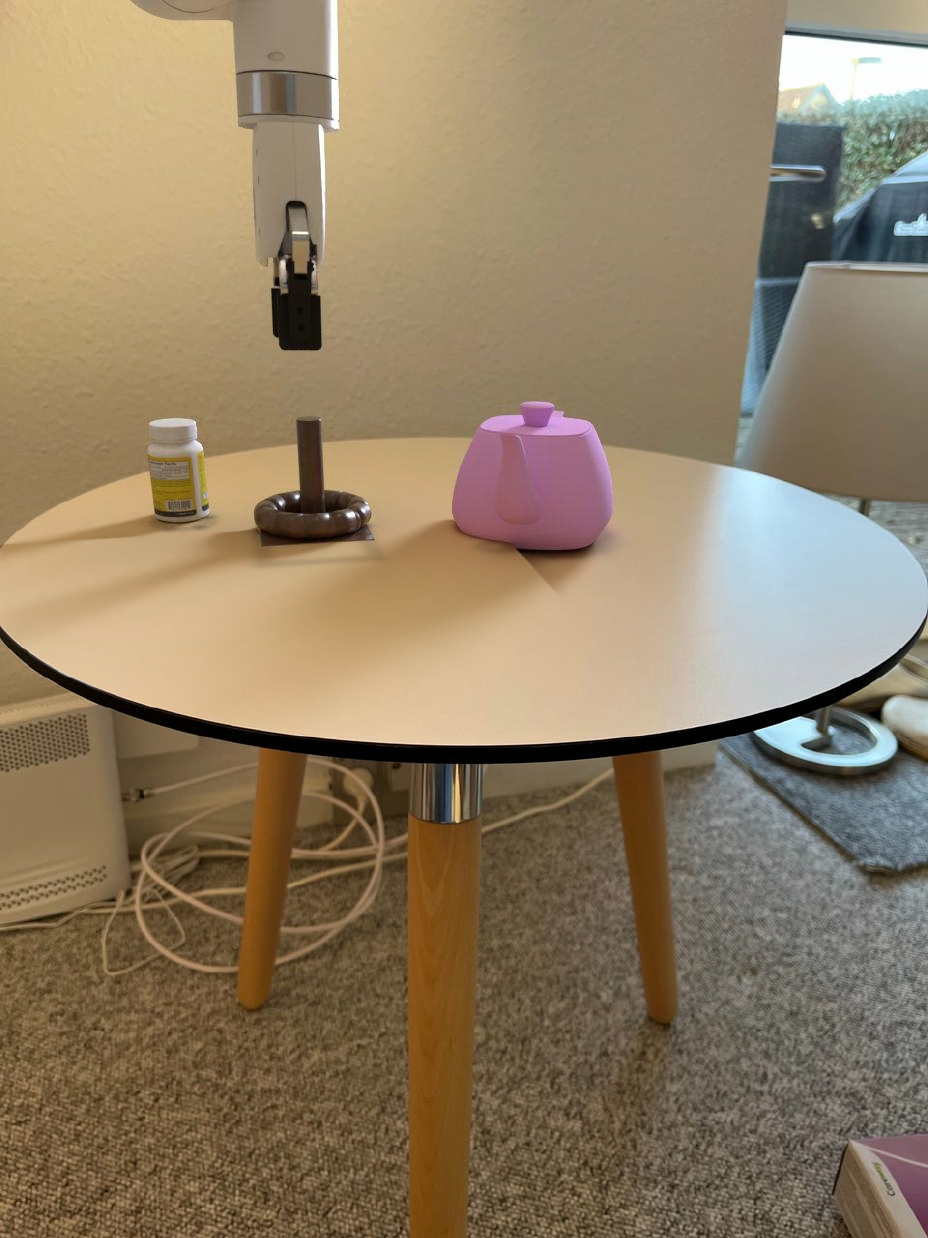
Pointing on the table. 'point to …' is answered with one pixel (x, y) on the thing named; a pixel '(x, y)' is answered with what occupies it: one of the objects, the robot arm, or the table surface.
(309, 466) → the stand
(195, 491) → the supplement bottle
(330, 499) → the ring
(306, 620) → the table surface
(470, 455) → the teapot
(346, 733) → the table surface
